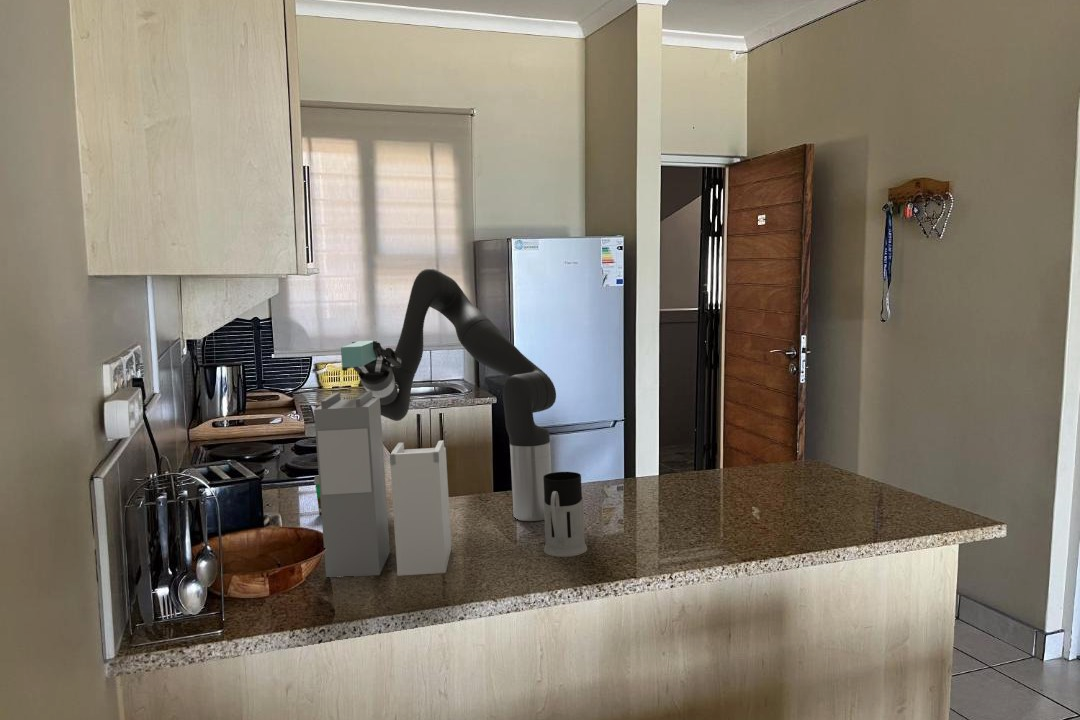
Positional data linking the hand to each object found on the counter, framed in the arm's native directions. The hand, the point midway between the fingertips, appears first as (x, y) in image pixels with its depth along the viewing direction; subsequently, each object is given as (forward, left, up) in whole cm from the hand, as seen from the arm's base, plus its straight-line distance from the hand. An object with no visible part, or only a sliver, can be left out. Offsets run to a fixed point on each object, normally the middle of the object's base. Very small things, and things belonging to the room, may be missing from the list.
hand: (364, 345), depth 176 cm
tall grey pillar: (0, +21, -42) cm, 47 cm away
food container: (+13, -23, -42) cm, 50 cm away
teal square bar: (0, +5, -3) cm, 6 cm away
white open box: (-13, +21, -42) cm, 49 cm away
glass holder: (-40, +21, -42) cm, 62 cm away
